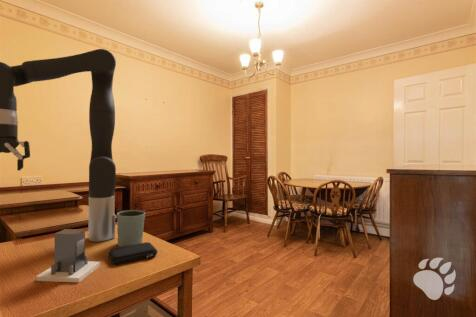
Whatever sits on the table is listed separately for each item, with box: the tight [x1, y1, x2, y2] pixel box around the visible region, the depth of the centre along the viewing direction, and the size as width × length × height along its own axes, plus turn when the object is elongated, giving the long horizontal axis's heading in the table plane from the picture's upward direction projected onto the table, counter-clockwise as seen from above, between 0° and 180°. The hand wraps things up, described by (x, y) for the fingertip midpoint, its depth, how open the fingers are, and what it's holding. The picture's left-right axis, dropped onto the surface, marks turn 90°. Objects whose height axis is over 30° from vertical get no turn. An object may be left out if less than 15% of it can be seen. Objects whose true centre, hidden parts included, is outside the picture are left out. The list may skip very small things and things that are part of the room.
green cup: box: [116, 209, 146, 247], centre depth 96 cm, size 10×10×12 cm
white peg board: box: [35, 254, 101, 283], centre depth 73 cm, size 10×12×4 cm
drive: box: [53, 228, 86, 273], centre depth 72 cm, size 4×6×11 cm
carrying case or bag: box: [107, 242, 158, 266], centre depth 85 cm, size 11×3×15 cm
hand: (2, 170), depth 85 cm, fingers open, 8 cm apart
